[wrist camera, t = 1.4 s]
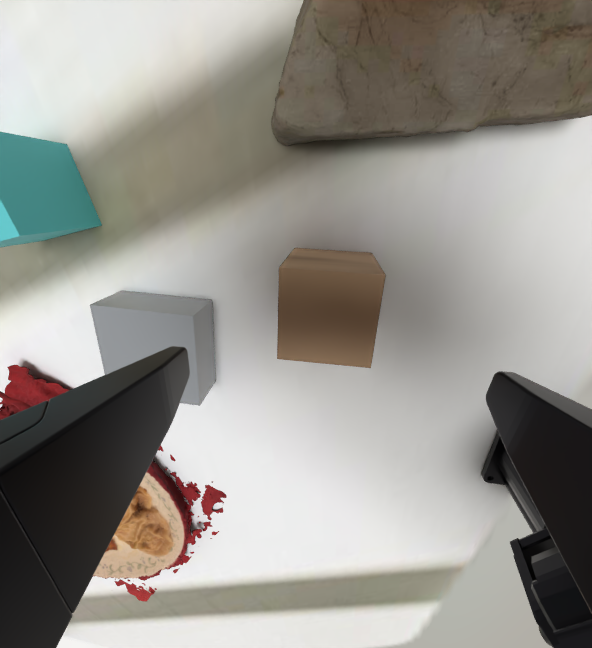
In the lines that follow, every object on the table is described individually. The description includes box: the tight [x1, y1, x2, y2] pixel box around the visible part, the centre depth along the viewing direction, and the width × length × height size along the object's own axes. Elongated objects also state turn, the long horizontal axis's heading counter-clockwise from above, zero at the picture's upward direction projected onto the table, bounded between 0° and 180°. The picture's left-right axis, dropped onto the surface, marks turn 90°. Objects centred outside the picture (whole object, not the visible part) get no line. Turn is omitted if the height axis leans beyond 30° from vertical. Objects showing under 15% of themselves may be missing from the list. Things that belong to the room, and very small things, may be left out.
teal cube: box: [0, 132, 102, 247], centre depth 18 cm, size 5×5×6 cm
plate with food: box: [0, 365, 226, 601], centre depth 32 cm, size 25×26×4 cm
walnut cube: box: [277, 248, 385, 368], centre depth 18 cm, size 5×5×6 cm
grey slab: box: [90, 291, 216, 405], centre depth 22 cm, size 7×7×4 cm
